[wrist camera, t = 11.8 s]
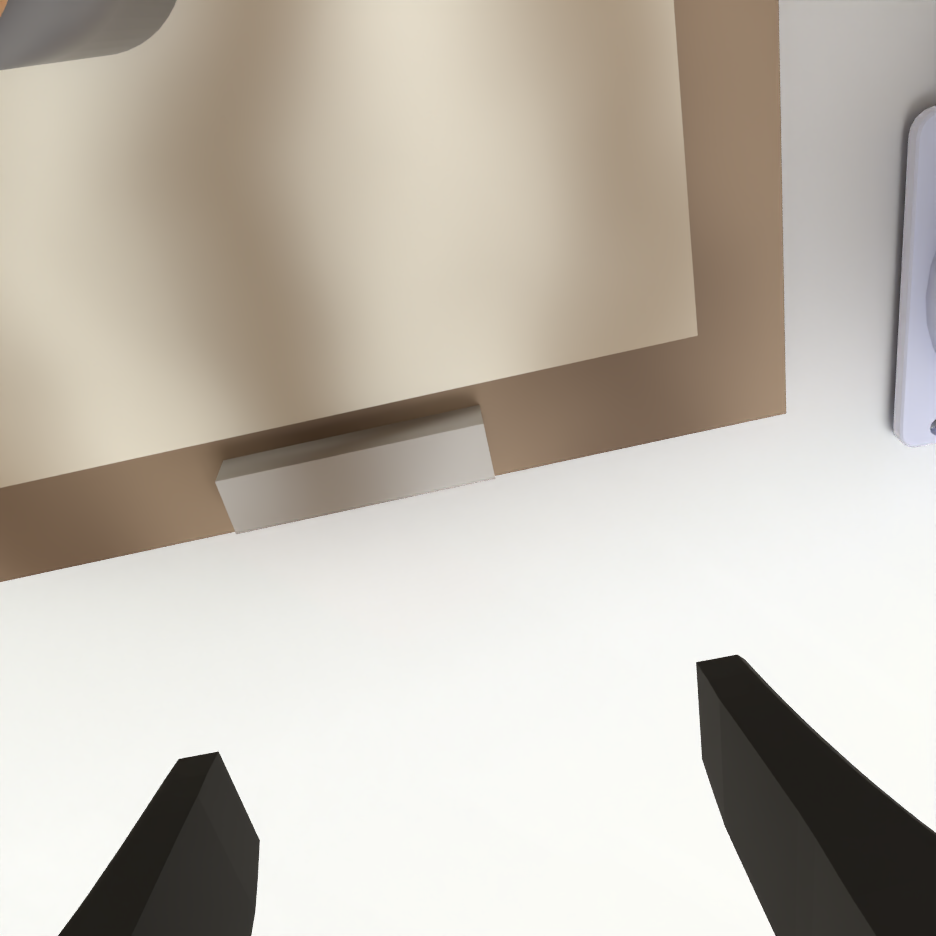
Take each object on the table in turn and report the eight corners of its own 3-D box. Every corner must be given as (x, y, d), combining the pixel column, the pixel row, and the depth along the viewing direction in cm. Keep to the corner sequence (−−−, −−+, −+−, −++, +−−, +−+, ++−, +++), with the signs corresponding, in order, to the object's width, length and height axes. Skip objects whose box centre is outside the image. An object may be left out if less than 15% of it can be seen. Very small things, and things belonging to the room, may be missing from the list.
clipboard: (742, -536, 13) (796, -623, 11) (769, 396, 21) (803, 432, 19) (-484, -229, 14) (-615, -264, 12) (-13, 564, 21) (-49, 614, 19)
